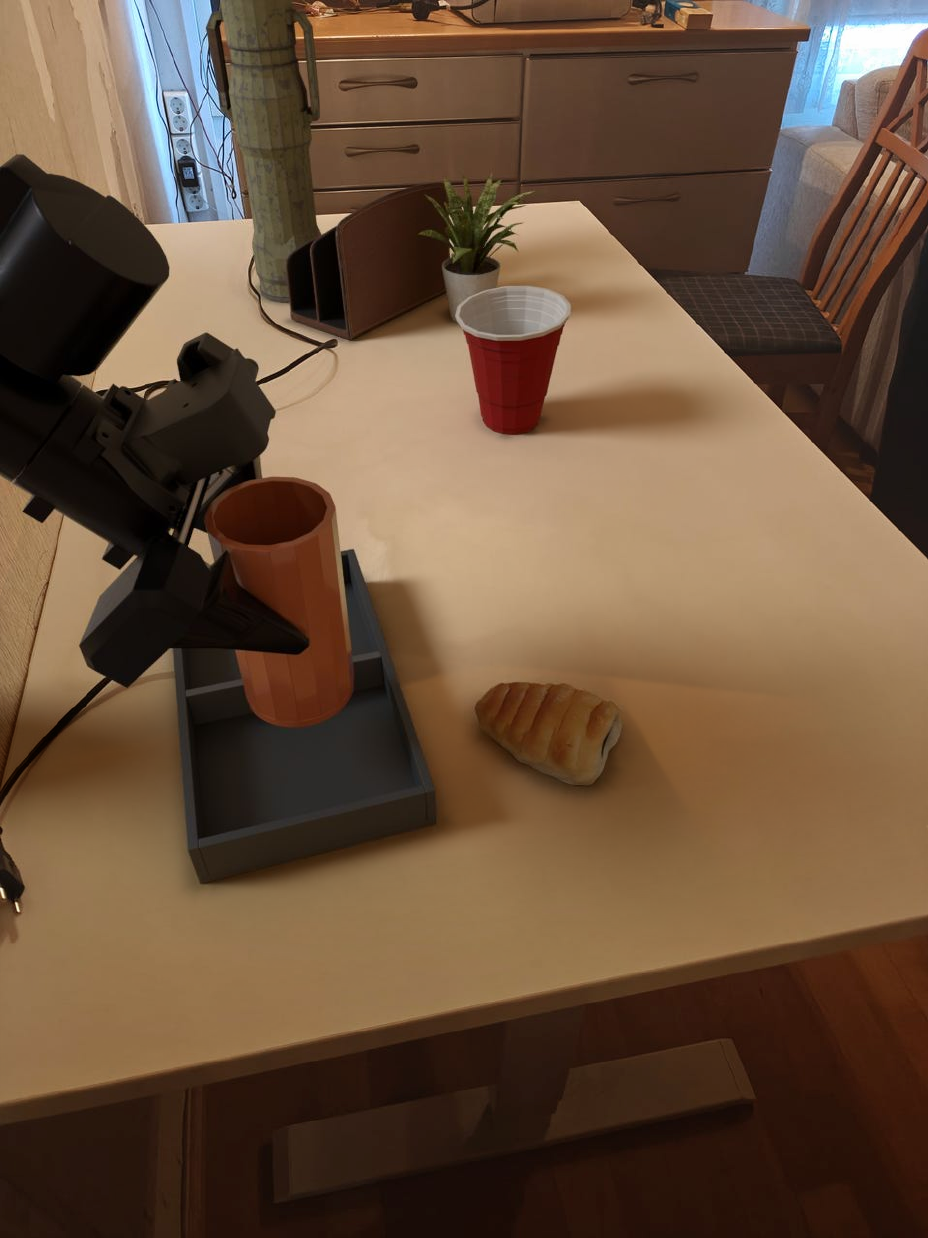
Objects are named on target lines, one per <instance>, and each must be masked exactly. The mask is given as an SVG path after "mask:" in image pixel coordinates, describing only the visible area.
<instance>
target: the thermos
mask: <svg viewBox="0 0 928 1238" xmlns="http://www.w3.org/2000/svg"><path fill="white" fill-rule="evenodd" d="M220 7H221V8H220V9H219V10H217V11H214V12H211V13H210V15H209V18H208V21H207V24H206V26H205V32H206V37H207V41H208V46H209V51H210V57H211V62H212V68H213V73H214V79H215V83H216V88H217V89H216V90H217V95H218V103H219V110H220V112H222V113H223V114H224V115H225V117H227V119H229V120H230V122H231V123H233V127H234V128H233V129H234V134H235V140H236V141H235V142H236V144H237V146H238V148H239V149H240V151H241V153H242V160H243V166H244V173H245V179H246V184H247V185H246V186H247V193H248V198H249V206H250V212H251V219H252V224H253V225H252V226H253V237H252V241H251V246H252V253H253V254H252V255H253V259H254V267H255V271H256V272H255V273H256V276H257V277H258V280H259V281H258V282H259V291H260V296H262V297H263V298H265V299H267V300H269V301H272V302H278V303H288V304H290V302H289V293H288V284H287V275H286V259H287V257H288V256H289V254H290V253H292V252H293V251H294V250H295V249H297V248H298V247H300V246H302V245H303V244H305V243H306V242H308V241H310V240H312V239H314V238H316V237H318V236H320V235H322V232H321V230H320V229H319V225H318V222H317V213H316V204H315V203H316V202H315V194H314V184H313V176H312V175H313V174H312V167H311V166H312V164H311V157H310V147H311V144H312V139H313V136H312V128H311V127H312V126H311V124H312V122H317V121H319V120H320V118H321V106H320V90H319V80H318V79H319V78H318V69H317V58H316V57H317V56H316V47H315V37H314V27H313V24H312V23H311V21H310V20H309V18H308V16H307V15H306V13H305V11H298V9H297V8H294V7H293V0H220ZM222 23H223V26H224V35H225V40H226V46H227V47H228V48H229V49H228V50H229V55H230V60H229V67H230V79H229V76H228V70H227V69H228V68H227V63H226V57H225V52H224V51H225V49H224V45H223V44H224V43H223V38H222V31H221V25H222ZM295 23H298V25H299V26H300V27H301V29H302V32H303V42H304V52H305V63H306V72H307V81H308V90H307V87H306V85H305V82H304V79H303V77H302V74H301V71H300V64H299V63H300V62H299V59H298V57H297V53H296V45H297V37H296V27H295ZM308 93H309V98H308ZM309 101H310V106H309Z"/></svg>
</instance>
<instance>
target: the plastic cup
mask: <svg viewBox="0 0 928 1238" xmlns="http://www.w3.org/2000/svg"><path fill="white" fill-rule="evenodd" d="M571 306H572V305H571V303H570V301H569V300H568V299H567V298H566V297H565V296H564V295H563V294H561V293H559V292H556V291H554V290H551V289H549V288H546V287H539V286H532V285H504V286H501V287H497V288H494V289H489V290H485V291H482V292H480V293H477V294H475V295H473V296H470V297H468V298H467V299H466V300H465V301H463V302H462V303H461V304H460V305H459V306H458V307H457V311H456V315H455V317H456V320H457V321H458V322H457V324H459V326H460V328H461V330H462V332H463V335H464V337H465V341H466V344H467V347H468V353H469V358H470V364H471V370H472V374H473V378H474V385H475V389H476V393H477V398H478V405H479V411H480V416H481V419H482V421H483V424H484V425H485V427H486V428H487V429H489V430H491V431H492V432H495V433H499V434H503V435H518V434H524V433H527V432H529V431H533V430H534V429H535V428H536V427H537V426H538V424H539V420H540V419H541V416H542V412H543V407H544V402H545V400H546V399H545V398H546V397H547V395H548V390H549V385H550V381H551V377H552V373H553V368H554V365H555V360H556V356H557V351H558V349H559V348H558V347H559V346H560V343H561V338H562V335H563V331H564V327H565V326H566V323H567V322H568V320H570V317H571Z"/></svg>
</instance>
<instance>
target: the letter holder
mask: <svg viewBox="0 0 928 1238" xmlns="http://www.w3.org/2000/svg"><path fill="white" fill-rule="evenodd" d="M425 194H426V195H427V196H429V197H431V198H433V199H434V200H435V201H436V202H437V203H438V204H439V205H440V206H441V207H442V208H443V209H444V210H445V212H446V213H447V215H448V216H449V217H450V215H449V214H448V212H447V210H446V207H445V204H444V202H445V203H446V204H447V205H448V206H449V201H448V197H447V193H446V188H445V185H444V182H441V181H440V182H438V181H437V182H436V181H435V182H427V183H422V184H417V185H413V186H410V187H406V188H403V189H400V190H399V189H398V190H397V191H393V192H390V193H387V194H385V195H383V196H381V197H378V198H376V199H374V200H373V201H371V202H368V203H367V204H365V205H363V206H362V207H359V208H358V209H355V211H353V212H351V213H350V214H348V215H346V216H344V217H343V218H342V219H341V220H340V221H339V222H338V223H337V225H335V226H334V227H332V228H331V229H329V230H327V231H325V232H324V233H321V235H320V236H318V237H316V238H314V239H312V240H310V241H308V242H306V243H305V244H303V245H302V246H300V247H298V248H297V249H295V250H294V251H293V252H292V253H290V254H289V256H288V257H287V259H286V275H287V284H288V293H289V302H290V303H289V312H290V314H289V315H290V320H291V321H294V322H296V323H300V324H302V325H305V326H308V327H310V328H313V329H317V330H320V331H323V332H325V333H328V334H331V335H334V336H337V337H340V338H343V339H345V340H348V341H352V340H354V339H356V338H357V337H359V336H361V335H363V334H365V333H367V332H369V331H371V330H372V329H374V328H376V327H379V326H380V325H382V324H384V323H387V322H389V321H390V320H392V319H394V318H396V317H398V316H400V315H403V314H405V313H407V312H409V311H411V310H413V309H415V308H417V307H419V306H422V305H423V304H425V303H427V302H428V301H429V302H430V301H431V300H432V299H435V298H437V297H440V296H441V295H443V294H445V293H446V288H445V282H444V277H443V271H442V263H443V262H444V261H445V260H446V259H448V258H451V248H450V247H449V246H448V245H447V244H446V243H445V242H443V241H441V240H439V239H436V238H433V237H429V236H425V235H420V234H419V233H420V232H422V231H424V230H433V231H436V232H438V233H440V234H441V235H443V236H444V237H445V238H446V239H447V240H449V241H450V242H451V240H450V239H449V237H448V236H447V234H446V233H445V230H444V229H445V228H446V227H448V225H447V223H446V221H445V220H444V218H443V217H442V215H441V214H440V213H439V212H438V211H437V209H436V208H435V206H434V205H433V203H432V202H431V201H430V200H429V199H428V198H427V197H426V196H425Z"/></svg>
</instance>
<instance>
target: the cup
mask: <svg viewBox="0 0 928 1238" xmlns="http://www.w3.org/2000/svg"><path fill="white" fill-rule="evenodd" d="M204 519H205V524H206V529H207V533H206V534H207V537H208V541H209V546H210V550H211V554H212V558H213V563H214V562H215V561H216V560H217V559H218V558H219V557H220V556H221V555H222V554H223V553H224V552H225V551H226V550H227V551H228V552H229V554H230V558H231V562H232V565H233V569H234V573H235V577H236V581H237V582H238V584H239V585H240V586H241V587H243V588H244V589H245V590H247V591H248V592H250V593H251V594H252V595H254V596H255V597H256V598H258V599H259V600H260V601H262V602H263V603H264V604H266V605H267V606H269V607H270V608H271V609H273V610H274V611H275V612H277V613H278V614H279V615H281V616H282V617H283V618H285V619H286V620H288V621H289V622H290V623H292V624H293V625H294V626H295V627H296V628H297V629H299V630H300V631H301V632H302V633H303V634H304V635H305V636H306V637H308V638H309V640H310V644H309V647H308V648H307V649H306V650H304V651H303V652H302V653H301V654H299V655H290V654H279V653H267V652H256V651H245V650H235V652H236V656H237V660H238V664H239V669H240V673H241V677H242V681H243V686H244V690H245V694H246V698H247V701H248V704H249V706H250V708H251V710H252V711H253V712H254V713H255V714H256V715H257V716H258V717H259V718H261V719H262V720H264V721H266V722H268V723H270V724H273V725H276V726H281V727H289V728H297V727H306V726H311V725H314V724H318V723H320V722H323V721H325V720H327V719H329V718H331V717H333V716H334V715H335V714H337V713H338V712H339V711H340V710H342V709H343V707H344V706H345V705H346V704H347V703H348V701H349V700H350V698H351V695H352V693H353V690H354V667H353V658H352V650H351V641H350V632H349V623H348V614H347V605H346V596H345V587H344V578H343V569H342V560H341V551H342V550H341V543H340V534H339V533H340V532H339V525H338V516H337V508H336V504H335V502H334V500H333V497H332V495H331V493H330V492H329V491H327V490H326V489H324V488H323V487H322V486H320V485H319V484H318V483H316V482H313V481H310V480H306V479H302V478H300V477H294V476H267V477H262V478H260V479H255V480H249V481H246V482H243V483H241V484H239V485H236V486H234V487H231V488H229V489H227V490H225V491H224V492H223V493H222V494H220V495H219V496H218V497H217V498H215V499H214V500H213V501H212V502H211V503H210V505H209V507H208V509H207V512H206V514H205V516H204Z"/></svg>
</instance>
